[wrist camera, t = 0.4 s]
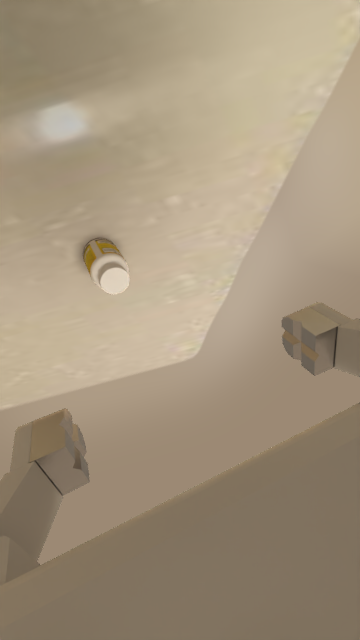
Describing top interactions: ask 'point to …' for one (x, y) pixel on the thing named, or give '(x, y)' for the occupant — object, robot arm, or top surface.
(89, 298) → the top surface
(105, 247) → the supplement bottle
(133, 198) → the top surface
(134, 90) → the top surface
